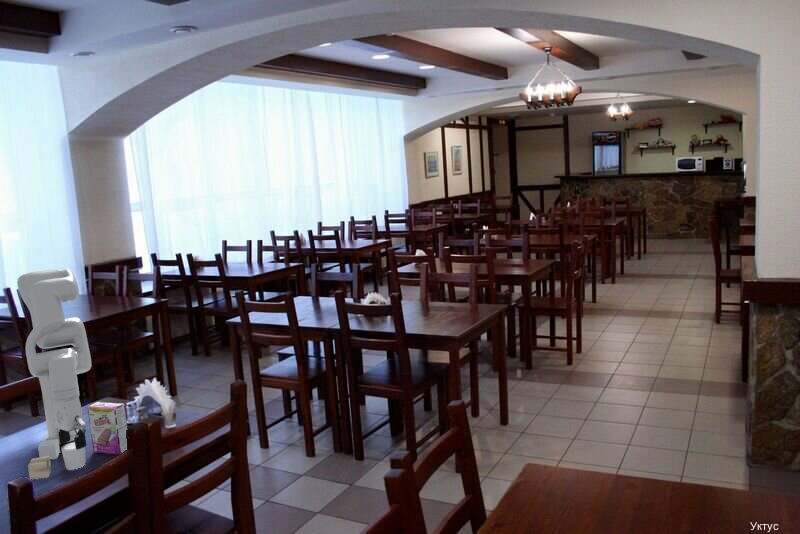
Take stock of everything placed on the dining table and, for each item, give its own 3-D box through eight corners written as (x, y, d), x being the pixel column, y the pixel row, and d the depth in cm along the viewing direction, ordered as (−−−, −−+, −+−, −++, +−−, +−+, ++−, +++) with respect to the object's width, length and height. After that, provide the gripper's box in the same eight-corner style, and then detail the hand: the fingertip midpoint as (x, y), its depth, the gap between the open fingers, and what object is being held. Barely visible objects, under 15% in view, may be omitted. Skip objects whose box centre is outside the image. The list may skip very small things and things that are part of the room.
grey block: (43, 455, 223) (41, 441, 222) (60, 452, 224) (58, 438, 223) (40, 461, 218) (37, 447, 217) (56, 459, 219) (54, 444, 218)
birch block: (34, 473, 209) (32, 458, 209) (51, 470, 211) (49, 455, 210) (30, 480, 205) (27, 465, 204) (47, 477, 206) (45, 462, 205)
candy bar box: (92, 453, 222) (86, 406, 219) (102, 446, 227) (96, 401, 224) (121, 455, 219) (114, 408, 216) (130, 449, 224) (125, 402, 221)
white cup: (78, 471, 209) (75, 450, 208) (59, 470, 210) (56, 449, 209) (92, 461, 216) (89, 441, 214) (73, 460, 217) (70, 440, 216)
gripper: (40, 393, 211) (47, 444, 213) (68, 401, 201) (75, 454, 203) (63, 386, 217) (70, 436, 219) (91, 393, 207) (99, 445, 209)
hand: (73, 445), depth 211 cm, fingers open, 9 cm apart
